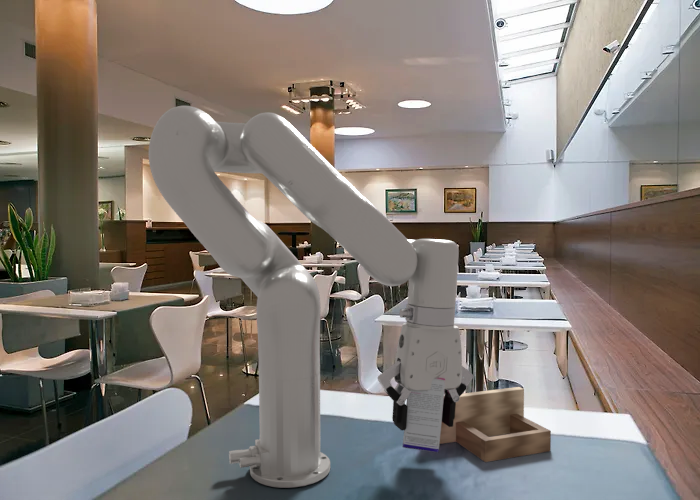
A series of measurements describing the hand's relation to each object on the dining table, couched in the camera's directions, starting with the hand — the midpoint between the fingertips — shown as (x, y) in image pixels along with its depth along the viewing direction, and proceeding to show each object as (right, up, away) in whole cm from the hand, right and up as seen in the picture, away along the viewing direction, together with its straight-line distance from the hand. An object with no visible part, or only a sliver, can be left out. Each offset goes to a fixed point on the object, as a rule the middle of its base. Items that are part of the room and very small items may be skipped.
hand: (423, 425), depth 88 cm
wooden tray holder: (+13, -6, +8) cm, 16 cm away
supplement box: (0, -3, 0) cm, 3 cm away
